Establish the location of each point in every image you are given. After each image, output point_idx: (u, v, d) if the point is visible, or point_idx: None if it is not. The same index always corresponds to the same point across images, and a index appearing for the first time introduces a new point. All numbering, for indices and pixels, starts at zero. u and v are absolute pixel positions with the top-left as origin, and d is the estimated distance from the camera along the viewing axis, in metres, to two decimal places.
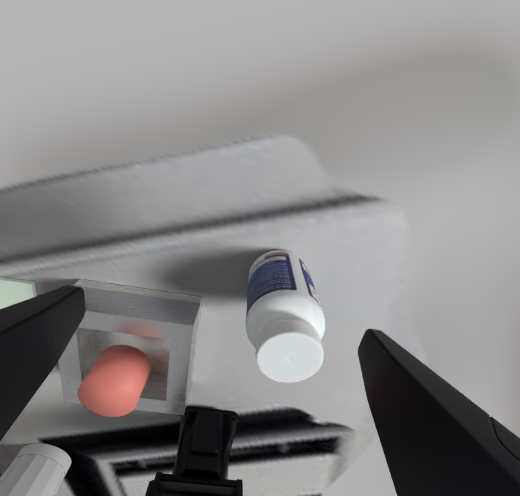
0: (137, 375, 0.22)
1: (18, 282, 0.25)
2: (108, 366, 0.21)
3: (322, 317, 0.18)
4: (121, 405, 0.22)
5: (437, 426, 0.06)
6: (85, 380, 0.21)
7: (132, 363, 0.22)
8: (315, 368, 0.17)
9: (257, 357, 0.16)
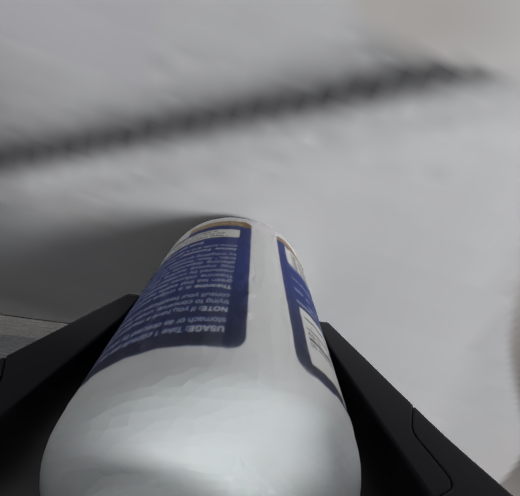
0: None
1: None
2: None
3: (353, 464, 0.04)
4: None
5: (359, 417, 0.06)
6: None
7: None
8: None
9: None
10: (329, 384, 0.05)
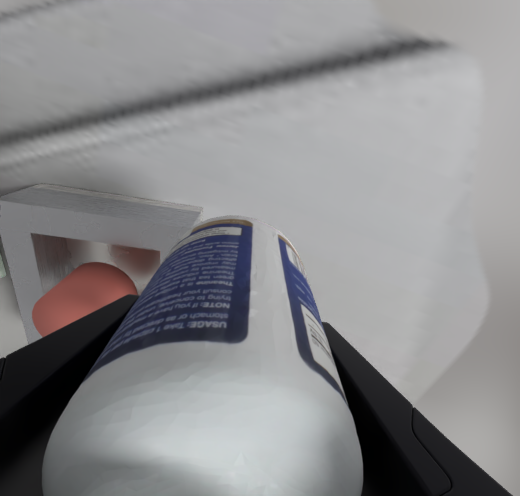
0: (116, 297, 0.16)
1: None
2: (74, 281, 0.15)
3: (356, 460, 0.04)
4: None
5: (359, 417, 0.06)
6: (41, 297, 0.15)
7: (109, 281, 0.16)
8: None
9: None
10: (331, 380, 0.05)
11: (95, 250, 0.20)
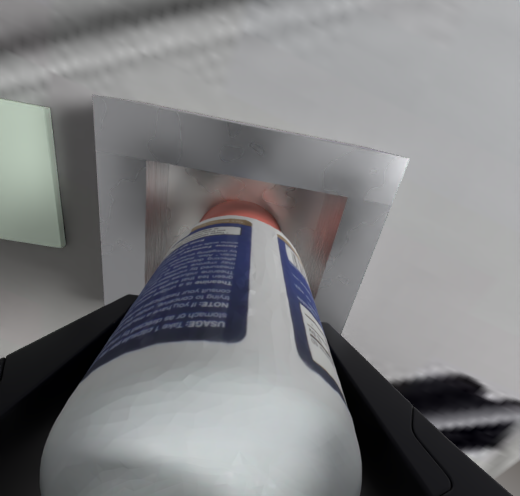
0: None
1: (18, 103, 0.12)
2: None
3: (354, 460, 0.04)
4: None
5: (359, 417, 0.06)
6: None
7: (269, 222, 0.12)
8: None
9: None
10: (330, 380, 0.05)
11: (207, 207, 0.14)
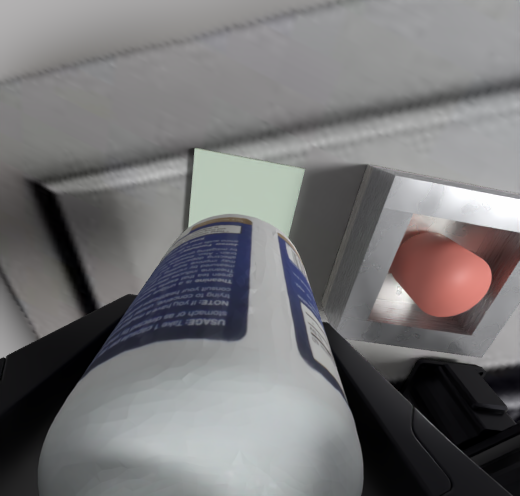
0: None
1: (287, 167, 0.18)
2: (453, 246, 0.17)
3: (356, 459, 0.04)
4: (463, 299, 0.17)
5: (359, 417, 0.06)
6: (438, 259, 0.16)
7: None
8: None
9: None
10: (331, 379, 0.05)
11: (403, 236, 0.19)
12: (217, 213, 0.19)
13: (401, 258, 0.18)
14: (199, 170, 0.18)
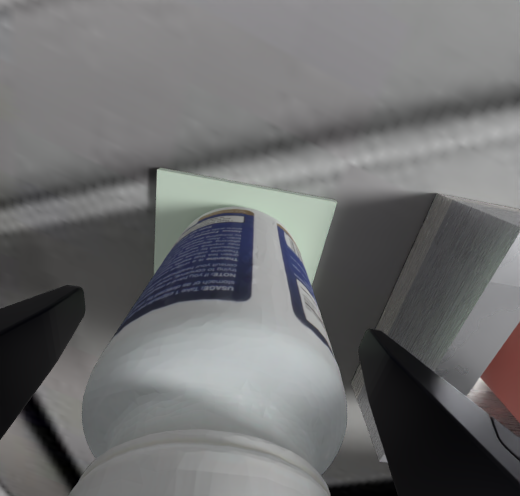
0: None
1: (308, 198, 0.11)
2: None
3: (339, 397, 0.05)
4: None
5: (438, 426, 0.06)
6: None
7: None
8: None
9: None
10: (320, 336, 0.06)
11: None
12: None
13: None
14: (165, 203, 0.11)
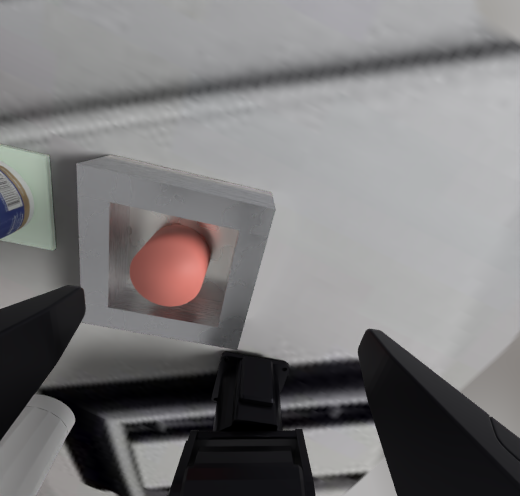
0: (202, 255, 0.18)
1: (27, 152, 0.18)
2: (169, 237, 0.17)
3: None
4: (182, 289, 0.18)
5: (437, 426, 0.06)
6: (142, 249, 0.16)
7: (195, 242, 0.18)
8: None
9: None
10: None
11: (158, 228, 0.20)
12: None
13: None
14: None
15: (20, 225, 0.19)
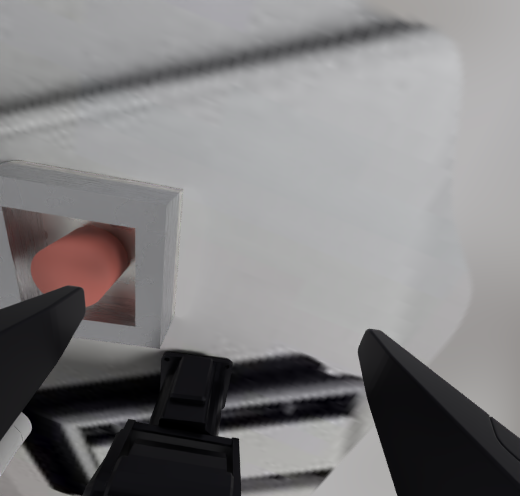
0: (107, 255, 0.18)
1: None
2: (69, 239, 0.17)
3: None
4: (87, 290, 0.18)
5: (437, 426, 0.06)
6: (39, 251, 0.17)
7: (101, 242, 0.18)
8: None
9: None
10: None
11: (72, 230, 0.20)
12: None
13: None
14: None
15: None
